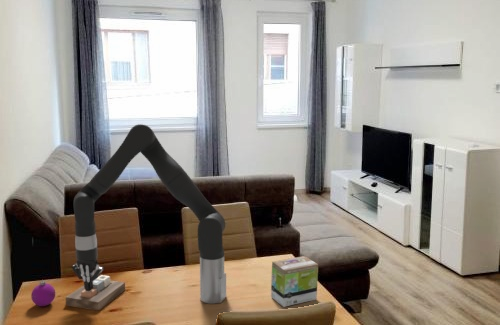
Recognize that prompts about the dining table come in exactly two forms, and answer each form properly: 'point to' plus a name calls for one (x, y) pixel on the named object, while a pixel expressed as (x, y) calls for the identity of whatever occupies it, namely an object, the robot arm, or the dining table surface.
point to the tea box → (294, 281)
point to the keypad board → (96, 296)
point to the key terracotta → (89, 293)
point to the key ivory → (105, 279)
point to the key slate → (98, 285)
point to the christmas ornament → (43, 294)
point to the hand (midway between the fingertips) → (88, 290)
